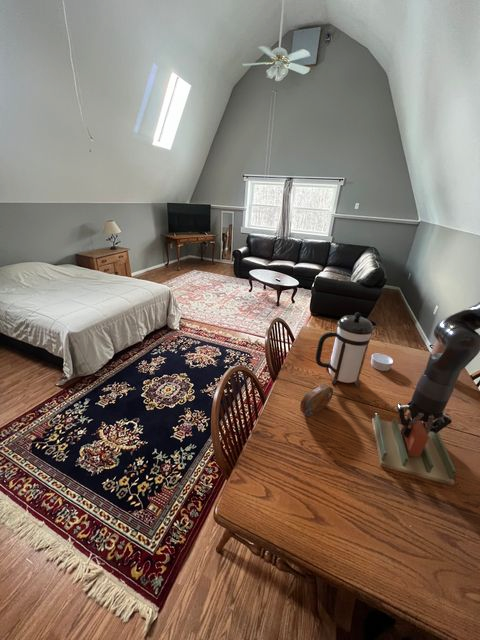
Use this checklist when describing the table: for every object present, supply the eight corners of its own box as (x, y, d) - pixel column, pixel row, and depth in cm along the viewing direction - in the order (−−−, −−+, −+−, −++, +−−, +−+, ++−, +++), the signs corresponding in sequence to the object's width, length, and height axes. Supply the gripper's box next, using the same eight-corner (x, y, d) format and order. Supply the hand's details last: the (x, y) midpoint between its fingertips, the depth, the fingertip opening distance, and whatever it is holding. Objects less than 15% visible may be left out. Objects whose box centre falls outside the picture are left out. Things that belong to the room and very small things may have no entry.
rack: (431, 434, 87) (435, 424, 85) (453, 486, 71) (459, 475, 70) (371, 420, 92) (374, 410, 90) (380, 465, 76) (384, 455, 74)
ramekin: (366, 360, 126) (368, 352, 124) (385, 361, 126) (387, 353, 124) (374, 371, 118) (376, 363, 116) (394, 372, 118) (397, 364, 116)
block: (411, 434, 84) (419, 414, 81) (419, 458, 76) (428, 438, 73) (400, 431, 85) (408, 412, 82) (407, 455, 77) (416, 435, 74)
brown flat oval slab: (303, 420, 90) (307, 400, 87) (296, 414, 93) (300, 395, 89) (331, 403, 99) (335, 384, 95) (324, 398, 101) (328, 379, 97)
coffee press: (335, 362, 123) (349, 301, 110) (368, 380, 112) (387, 315, 99) (311, 375, 113) (323, 310, 100) (344, 396, 102) (363, 326, 89)
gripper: (407, 393, 70) (389, 440, 78) (469, 406, 67) (444, 454, 74) (401, 377, 77) (384, 421, 84) (457, 388, 74) (435, 433, 81)
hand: (412, 436), depth 79 cm, fingers closed on block, 3 cm apart
